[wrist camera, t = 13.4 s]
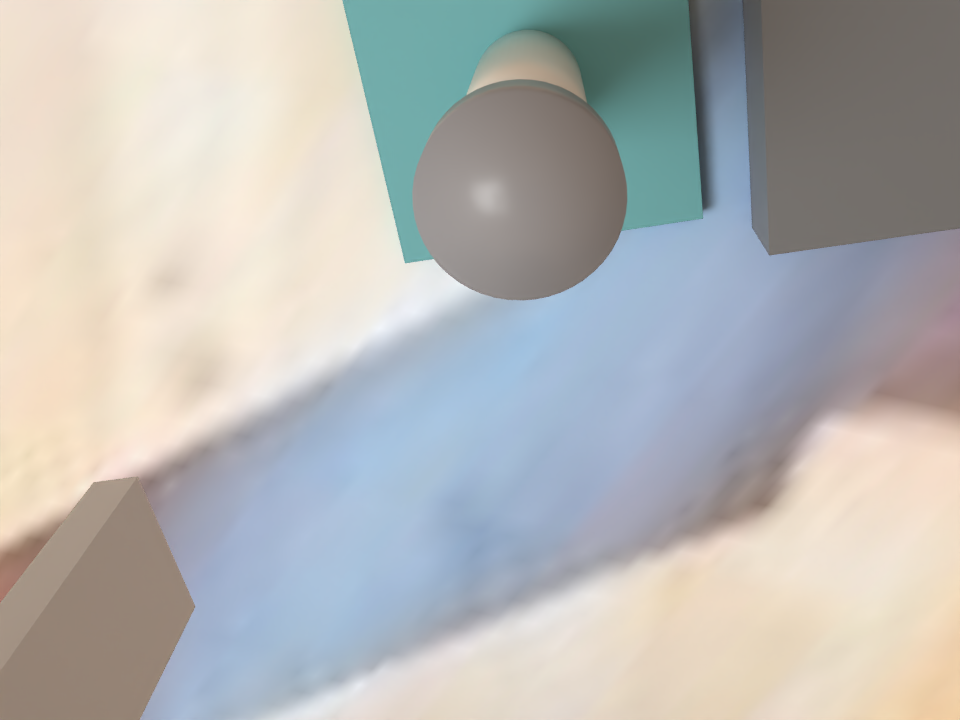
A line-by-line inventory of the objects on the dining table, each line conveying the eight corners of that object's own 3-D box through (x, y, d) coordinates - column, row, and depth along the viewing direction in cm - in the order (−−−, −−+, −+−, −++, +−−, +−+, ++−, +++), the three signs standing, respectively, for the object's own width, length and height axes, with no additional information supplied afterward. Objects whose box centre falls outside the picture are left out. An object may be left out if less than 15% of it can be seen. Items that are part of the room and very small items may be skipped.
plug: (603, 143, 33) (636, 285, 21) (472, 164, 34) (435, 313, 22) (586, 2, 31) (615, 74, 19) (447, 28, 31) (391, 112, 20)
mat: (699, 211, 35) (703, 218, 34) (407, 256, 37) (405, 263, 36) (676, -128, 29) (679, -128, 29) (334, -57, 31) (329, -56, 30)
